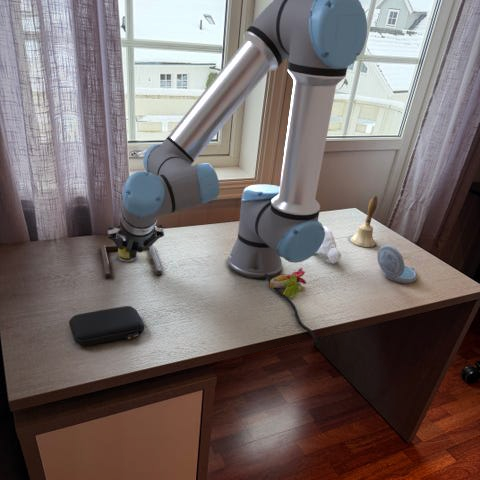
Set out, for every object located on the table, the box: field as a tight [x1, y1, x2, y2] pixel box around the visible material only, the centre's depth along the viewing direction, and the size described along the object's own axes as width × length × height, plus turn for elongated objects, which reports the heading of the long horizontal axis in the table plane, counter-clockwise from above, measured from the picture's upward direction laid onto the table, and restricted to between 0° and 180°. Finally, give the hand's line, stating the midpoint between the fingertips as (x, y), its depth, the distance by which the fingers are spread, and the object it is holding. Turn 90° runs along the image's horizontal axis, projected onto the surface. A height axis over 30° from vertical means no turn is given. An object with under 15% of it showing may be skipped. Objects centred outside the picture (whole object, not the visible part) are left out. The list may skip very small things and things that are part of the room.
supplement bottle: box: [117, 236, 137, 263], centre depth 121 cm, size 5×5×8 cm
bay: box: [100, 243, 163, 280], centre depth 122 cm, size 16×14×2 cm
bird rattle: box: [269, 267, 307, 299], centre depth 119 cm, size 6×11×9 cm
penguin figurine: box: [313, 225, 342, 265], centre depth 135 cm, size 6×8×12 cm
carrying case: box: [68, 305, 146, 346], centre depth 95 cm, size 11×3×15 cm
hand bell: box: [349, 195, 378, 248], centre depth 146 cm, size 8×8×16 cm
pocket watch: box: [376, 244, 418, 284], centre depth 130 cm, size 10×11×15 cm
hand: (132, 252), depth 118 cm, fingers closed
